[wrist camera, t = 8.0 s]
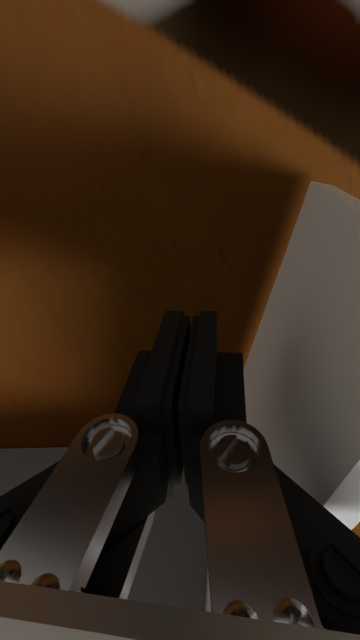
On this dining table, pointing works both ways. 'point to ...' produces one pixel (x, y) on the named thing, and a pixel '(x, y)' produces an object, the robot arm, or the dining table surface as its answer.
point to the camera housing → (162, 543)
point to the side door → (313, 357)
